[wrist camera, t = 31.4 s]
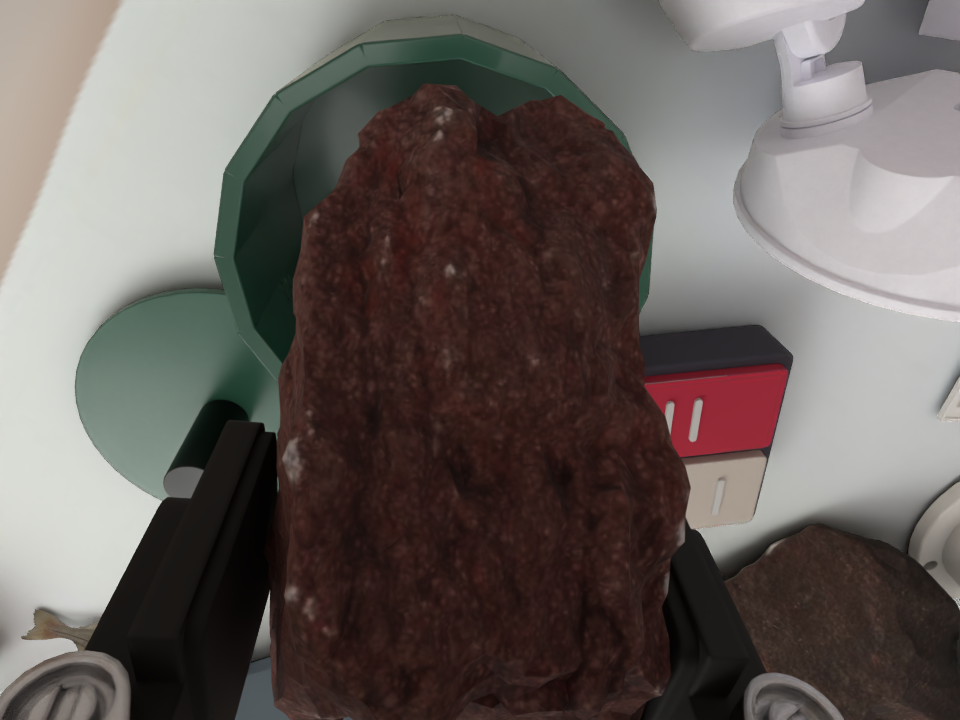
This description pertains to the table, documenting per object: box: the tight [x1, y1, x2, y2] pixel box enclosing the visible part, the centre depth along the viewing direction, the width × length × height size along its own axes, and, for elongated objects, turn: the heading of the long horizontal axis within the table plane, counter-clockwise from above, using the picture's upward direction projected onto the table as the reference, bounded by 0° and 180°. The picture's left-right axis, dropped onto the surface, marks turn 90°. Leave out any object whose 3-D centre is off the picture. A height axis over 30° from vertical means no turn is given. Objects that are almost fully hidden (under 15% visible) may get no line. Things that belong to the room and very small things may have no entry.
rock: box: [264, 83, 691, 720], centre depth 10 cm, size 11×6×8 cm
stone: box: [724, 524, 960, 720], centre depth 41 cm, size 17×9×25 cm
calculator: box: [639, 325, 793, 529], centre depth 33 cm, size 11×4×15 cm
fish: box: [21, 610, 98, 651], centre depth 41 cm, size 13×4×5 cm
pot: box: [214, 15, 654, 382], centre depth 24 cm, size 13×13×10 cm
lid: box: [75, 288, 280, 501], centre depth 30 cm, size 14×14×6 cm
